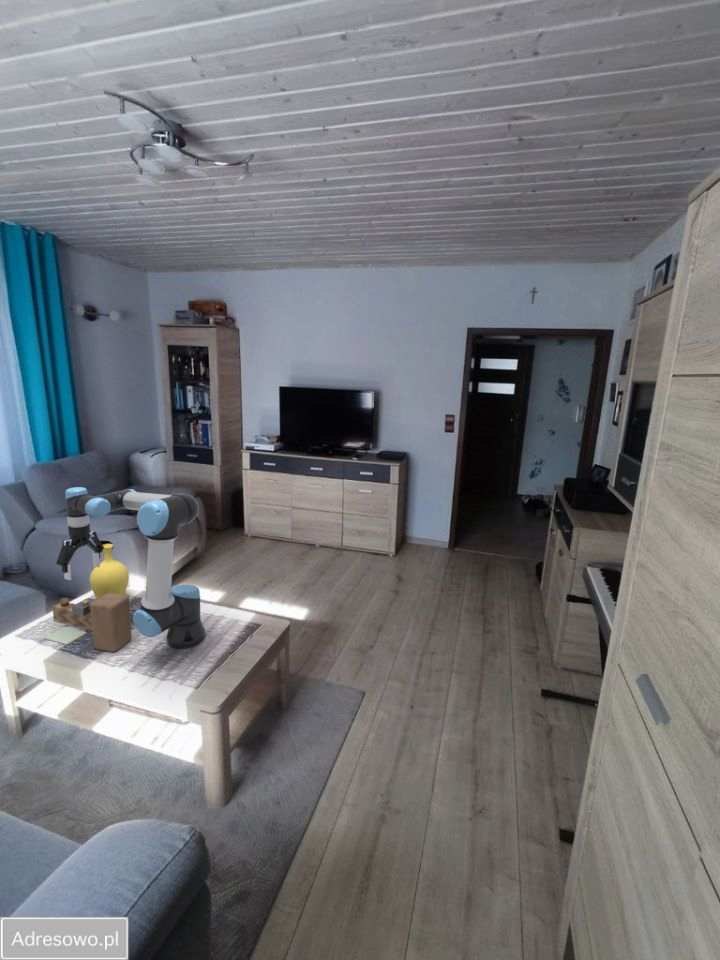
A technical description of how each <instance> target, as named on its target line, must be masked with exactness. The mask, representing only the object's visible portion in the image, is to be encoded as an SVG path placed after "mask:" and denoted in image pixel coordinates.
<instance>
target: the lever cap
mask: <svg viewBox="0 0 720 960" xmlns="http://www.w3.org/2000/svg"><path fill="white" fill-rule="evenodd" d="M95 600H97V599H95V598H91V597H87V598H85V599H82V601H79V602H77V603H74V604H75V605H73V606H72V613H73V614H76V615H80V616H85V615H87V614H89V613H91V608H90V604H91V603H92V602H93V601H95Z"/></svg>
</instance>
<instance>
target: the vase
mask: <svg viewBox="0 0 720 960" xmlns="http://www.w3.org/2000/svg"><path fill="white" fill-rule="evenodd" d="M102 545H103V546H104V549H103V550H102V552H103V553H104V555H103V557H104V558H103V560H102V562H100V567H99V568H98V567H94V568H93V569H92V571H91V573H90V575H89V576H90V577H89V584H90V587H91V590H92V592H93V594H94V597H95V598H96V600H97V599H99V598H101V597H102V596H104V595H106V594H108V593H113V594H119V595H125V596H126V591H127V588H128V584H129V579H130V578H129V571H128V568H127V566H126V565H125V564H123V563H122V562H120V561H117V560H115V559H114V558H113V556H112V550H113V547H114V544H112V543H105V544H102Z"/></svg>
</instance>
